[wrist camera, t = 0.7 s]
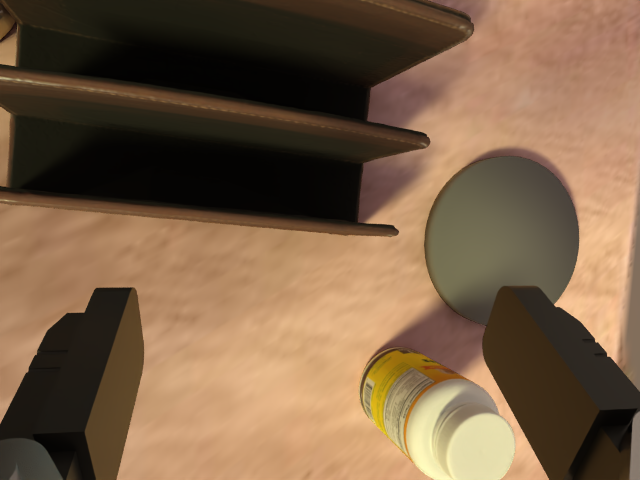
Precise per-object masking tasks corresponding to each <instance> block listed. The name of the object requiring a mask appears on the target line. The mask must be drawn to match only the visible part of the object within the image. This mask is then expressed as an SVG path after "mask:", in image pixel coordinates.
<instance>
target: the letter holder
mask: <svg viewBox="0 0 640 480" xmlns="http://www.w3.org/2000/svg"><path fill="white" fill-rule="evenodd" d="M0 2H1V3H2V4H3V5H4V7H5V8H6V10H7V11H8V12H9V13H10V14H11V16H12V17H13V18H14V19H15V21H16V22H17V34H16V37H17V41H16V57H15V66H9V65H2V64H0V107H2V108H4V109H5V110H6V111H8V112H9V113H11V114H10V137H9V158H8V171H7V183H6V187H2V186H0V203H4V204H8V205H26V206H39V207H47V208H58V209H67V210H79V211H92V212H101V213H111V214H122V215H133V216H143V217H154V218H167V219H178V220H189V221H198V222H208V223H220V224H233V225H240V226H251V227H262V228H274V229H284V230H296V231H308V232H318V233H329V234H338V235H344V236H346V235H361V236H388V237H392V236H396V235H398V233H399V231H398V230H397V229H396V228H395V227H394V226H393V225H385V224H366V223H358V213H359V198H360V189H361V179H362V173H363V163H365V162H368V161H371V160H374V159H378V158H382V157H387V156H391V155H395V154H400V153H404V152H409V151H413V150H418V149H424V148H427V147H428V146H429V144H430V139H429V137H427V134H425V133H422V132H418V131H413V130H409V129H403V128H398V127H393V126H388V125H384V124H380V123H372V122H368V121H367V117H368V108H369V100H370V90H371V87H374V86H375V85H377V84H379V83H381V82H383V81H386V80H388V79H390V78H392V77H394V76H396V75H397V74H400V73H401V72H403V71H406V70H407V69H410V68H411V67H414V66H416V65H417V64H419V63H421V62H424V61H426V60H428V59H430V58H432V57H434V56H436V55H438V54H440V53H442V52H444V51H446V50H448V49H450V48H452V47H454V46H456V45H458V44H460V43H462V42H464V41H466V40H467V39H468V38H469V37H470V36H471V35H472V34H473V32H474V24H473V23H471V18H470V16H469V15H467V14H466V13H464V12H461V11H458V10H456V9H452V8H449V7H446V6H443V5H440V4H437V3H434V2H431V1H428V0H0Z"/></svg>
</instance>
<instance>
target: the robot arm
mask: <svg viewBox="0 0 640 480" xmlns="http://www.w3.org/2000/svg"><path fill="white" fill-rule="evenodd" d="M15 22H16V21H15V19H14V18H13V17H12V16H11V14H10V13H9V12H8V11H7V10H6V8H5V7H4V5H3V4H2V3H1V2H0V40H1V39H2V38H3V37H4V36H5V35H6V34H7V33H8V32H9V31H10V30H11V28H12V27H13V25H14V23H15ZM482 349H483V356H484V359H485V362H486V364H487V366H488V368H489V370H490V372H491V374H492V375H493V377H494V379H495V381H496V383H497V385H498V386H499V388H500V390H501V392H502V394H503V396H504V397H505V399H506V401H507V403H508V405H509V407H510V408H511V410H512V412H513V414H514V416H515V418H516V419H517V421H518V423H519V425H520V427H521V429H522V430H523V432H524V434H525V436H526V438H527V439H528V441H529V443H530V445H531V447H532V449H533V450H534V452H535V454H536V456H537V458H538V460H539V461H540V463H541V465H542V467H543V469H544V471H545V472H546V474H547V476H548V478H549V480H640V392H639V391H638V389H637V388H636V387H635V386H634V385H633V383H632V382H631V381H630V380H629V379H628V377H627V376H626V375H625V374H624V373H623V372H622V370H621V369H620V368H619V367H618V366H617V364H616V363H615V362H614V361H613V360H612V359H611V357H607V353H606V351H605V350H604V349H603V348H602V347H601V346H600V344H599V343H598V342H597V343H595V338H594V337H593V336H592V335H591V334H590V333H589V331H588V330H587V329H586V328H585V327H584V325H583V324H582V323H581V322H580V321H578V320H577V319H576V318H574V317H573V316H571V315H570V314H569V313H567V312H566V311H564V310H563V309H561V308H560V307H555V306H554V304H553V303H552V302H551V301H550V300H549V298H548V297H547V296H546V295H545V293H544V292H543V291H542V290H541V289H540V288H539V287H538V286H502V287H501V288H500V289H499V291H498V292H497V295H496V298H495V301H494V305H493V308H492V311H491V314H490V317H489V320H488V323H487V326H486V330H485V333H484V336H483V342H482ZM143 364H144V341H143V334H142V326H141V319H140V311H139V303H138V296H137V291H136V289H135V288H96V289H95V290H94V292H93V294H92V296H91V299H90V301H89V303H88V306H87V308H86V310H85V313H67V314H66V315H64V316H63V317H62V318H61V319H60V320H59V321H58V322H57V323H55V324H54V325H53V326H52V327H51V328H50V329H49V330H48V331H47V332H46V334H45V336H44V338H43V340H42V342H41V344H40V346H39V348H38V350H37V355H35V356H34V358H33V360H32V362H31V364H30V366H29V371H28V373H26V374H25V376H24V378H23V380H22V382H21V384H20V386H19V388H18V390H17V392H16V394H15V396H14V398H13V400H12V402H11V404H10V406H9V408H8V410H7V412H6V414H5V416H4V418H3V420H2V422H1V424H0V480H116V479H117V475H118V471H119V467H120V463H121V458H122V454H123V450H124V446H125V442H126V438H127V434H128V429H129V425H130V421H131V417H132V413H133V409H134V405H135V401H136V396H137V392H138V388H139V384H140V380H141V376H142V371H143Z"/></svg>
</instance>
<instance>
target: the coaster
mask: <svg viewBox="0 0 640 480" xmlns="http://www.w3.org/2000/svg"><path fill="white" fill-rule="evenodd" d="M424 248H425V259H426V264H427V269H428V272H429V275H430V278H431V280H432V283H433V285H434V287H435V289H436V290H437V292H438V293H439V295H440V297H441V298H442V299H443V300H444V301H445V303H446V304H447V305H448V306H449V307H450V308H452V309H453V310H454V311H455V312H457V313H458V314H460V315H461V316H463V317H465V318H467V319H469V320H471V321H474V322H477V323H480V324H483V325H486V326H487V323H488V320H489V317H490V314H491V311H492V308H493V305H494V301H495V298H496V295H497V292H498V291H499V289H500V288H501V287H502V286H538V287H539V288H540V289H541V290H542V291H543V292H544V293H545V295H546V296H547V297H548V298H549V300H550V301H551V302H552V303H553V304H555V303H556V301H557V300H558V299H559V298H560V296H561V295H562V293H563V292H564V291H565V289H566V287H567V285H568V283H569V281H570V279H571V277H572V274H573V272H574V268H575V265H576V261H577V256H578V249H579V227H578V220H577V216H576V212H575V208H574V206H573V203H572V200H571V198H570V196H569V194H568V192H567V190H566V189H565V187H564V186H563V185H562V183H561V182H560V181H559V179H558V178H557V177H556V176H555V175H554V174H553V173H552V172H550V171H549V170H548V169H547V168H545V167H544V166H542V165H540V164H539V163H537V162H534V161H532V160H530V159H526V158H522V157H515V156H503V157H495V158H489V159H485V160H480V161H478V162H475V163H473V164H470V165H469V166H467V167H465V168H463V169H462V170H461V171H459V172H458V173H457V174H455V175H454V176H453V177H452V178H451V179H450V180H449V181H448V182H447V183H446V185H445V186H444V187H443V188H442V190H441V191H440V193H439V194H438V196H437V198H436V199H435V201H434V204H433V206H432V208H431V211H430V214H429V217H428V220H427V225H426V230H425V242H424Z"/></svg>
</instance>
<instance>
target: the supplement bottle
mask: <svg viewBox="0 0 640 480" xmlns="http://www.w3.org/2000/svg"><path fill="white" fill-rule="evenodd" d="M359 398H360V403H361V406H362V408H363V410H364V412H365V414H366V415H367V416H368V417H369V419H370V420H371V421H372V422H373V423H374V424H375V425H376V426H377V427H378V428H379V429H380V430H381V431H382V432H383V433H384V434H385V435H386V436H387V437H388V438H389V439H390V440H391V441H392V442H393V443H394V444H395V445H396V446H397V447H398V448H399V449H400V450H401V451H402V452H403V453H404V454H405V455H406V456H407V457H408V458H409V459H410V460H411V461H412V462H413V463H414V464H415V465H416V466H417V467H418V468H419V469H420V470H421V471H422V472H423V473H424V474H426V475H427V476H429V477H431V478H432V479H435V480H500V479H501V478H502V477H503V476H504V475H505V474H506V472H507V471H508V469H509V468H510V466H511V464H512V461H513V458H514V454H515V437H514V433H513V430H512V428H511V426H510V424H509V423H508V422H507V421H506V420H505V419H504V418H503V417H502V416H500V415H499V412H498V409H497V406H496V404H495V402H494V400H493V399H492V397H491V396H490V395H489V394H488V392H486V391H485V390H484V389H483V388H482V387H480V386H479V385H477V384H476V383H474V382H472V381H470V380H468V379H466V378H465V377H463V376H461V375H459V374H457V373H456V372H454V371H452V370H450V369H448V368H446V367H445V366H443V365H441V364H439V363H437V362H435V361H433V360H432V359H430V358H428V357H426V356H424V355H423V354H421V353H419V352H417V351H415V350H412V349H409V348H403V347H395V348H390V349H387V350H385V351H383V352H381V353H379V354H378V355H376V356H375V357H374V358H373V359H372V360H371V361H370V362H369V363H368V365H367V366H366V368H365V369H364V371H363V373H362V376H361V379H360V383H359Z"/></svg>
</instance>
